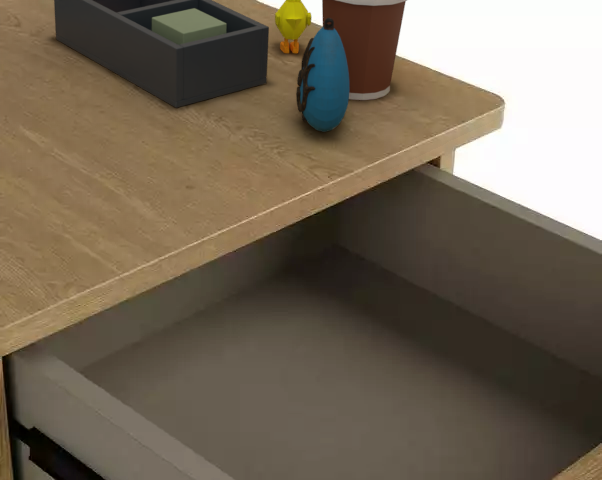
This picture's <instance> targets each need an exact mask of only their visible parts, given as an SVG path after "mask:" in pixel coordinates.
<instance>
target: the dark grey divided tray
mask: <svg viewBox="0 0 602 480" xmlns="http://www.w3.org/2000/svg"><path fill="white" fill-rule="evenodd" d="M53 6H54V8H53V9H54V30H55V40H56V41H58V42H60V43H62V44H64V46H65V45H66V46H67V47H69V48H70V49H73V51H76V52H78V53H79V54H81V55H83V56H84V57H86V58H88V59H89V60H91V61H94V62H95V63H97V64H98V65H101V66H102V67H104V68H105V69H107V70H109V71H110V72H112V73H115V74H116V75H118V76H120V77H121V78H123V79H125V80H127V81H128V82H129V83H132V84H134V85H136V86H137V87H139V88H140V89H142V90H144V91H146V92H147V93H149V94H151V95H153V96H154V97H157V98H159V99H160V100H161V101H164V102H165V103H167V104H169V105H170V106H172V107H174V108H180V107H184V106H188V105H191V104H195V103H199V102H203V101H206V100H209V99H214V98H217V97H221V96H225V95H228V94H232V93H236V92H239V91H243V90H247V89H250V88H254V87H258V86H262V85H265V84H267V82H268V57H269V37H270V36H269V35H270V27H269V26H267V25H266V24H264V23H261V22H259V21H257V20H255V19H253V18H250V17H249V16H246V15H244V14H242V13H240V12H238V11H237V10H234V9H232V8H229V7H228V6H225V5H223V4H221V3H219V2H217V1H214V0H53ZM193 8H195V9H197V10H199V11H201V12H204V13H206V14H208V15H210V16H212V17H214V18H216V19H218V20H220V21H222V22H224V23H226V24H227V25H226V34H222V35H217V36H213V37H209V38H205V39H201V40H196V41H192V42H188V43H184V44H179V45H178V44H176V43H174V42H172V41H170V40H168V39H166V38H164V37H162V36H160V35H158V34H156V33H155V32H153V31H152V17H157V16H161V15H166V14H170V13H175V12H179V11H184V10H188V9H193Z"/></svg>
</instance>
